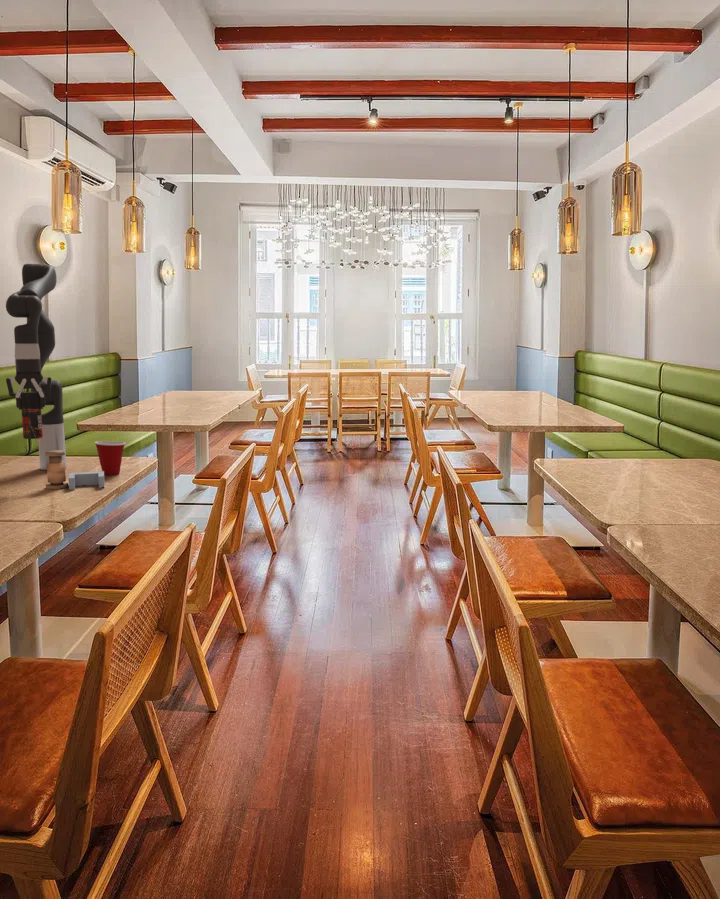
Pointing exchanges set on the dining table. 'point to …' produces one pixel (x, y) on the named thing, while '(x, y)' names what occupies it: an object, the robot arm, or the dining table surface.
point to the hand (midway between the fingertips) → (31, 408)
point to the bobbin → (56, 470)
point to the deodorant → (31, 415)
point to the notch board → (86, 479)
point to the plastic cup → (110, 456)
